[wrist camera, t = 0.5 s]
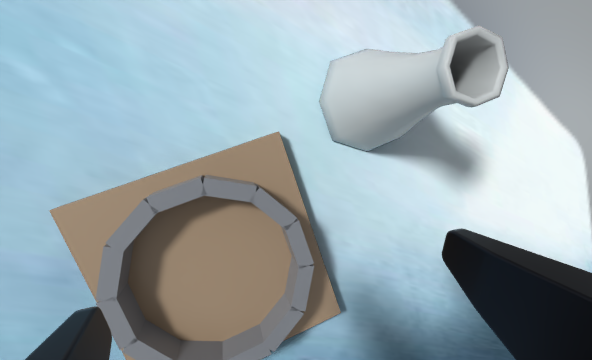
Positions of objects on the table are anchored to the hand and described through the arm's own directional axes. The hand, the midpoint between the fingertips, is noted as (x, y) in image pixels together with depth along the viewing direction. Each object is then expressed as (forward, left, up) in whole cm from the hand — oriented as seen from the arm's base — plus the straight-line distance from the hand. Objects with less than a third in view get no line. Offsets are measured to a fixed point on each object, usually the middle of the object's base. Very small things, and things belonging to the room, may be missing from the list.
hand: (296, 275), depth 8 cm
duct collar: (-4, +4, -13) cm, 14 cm away
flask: (+3, -10, -14) cm, 17 cm away
